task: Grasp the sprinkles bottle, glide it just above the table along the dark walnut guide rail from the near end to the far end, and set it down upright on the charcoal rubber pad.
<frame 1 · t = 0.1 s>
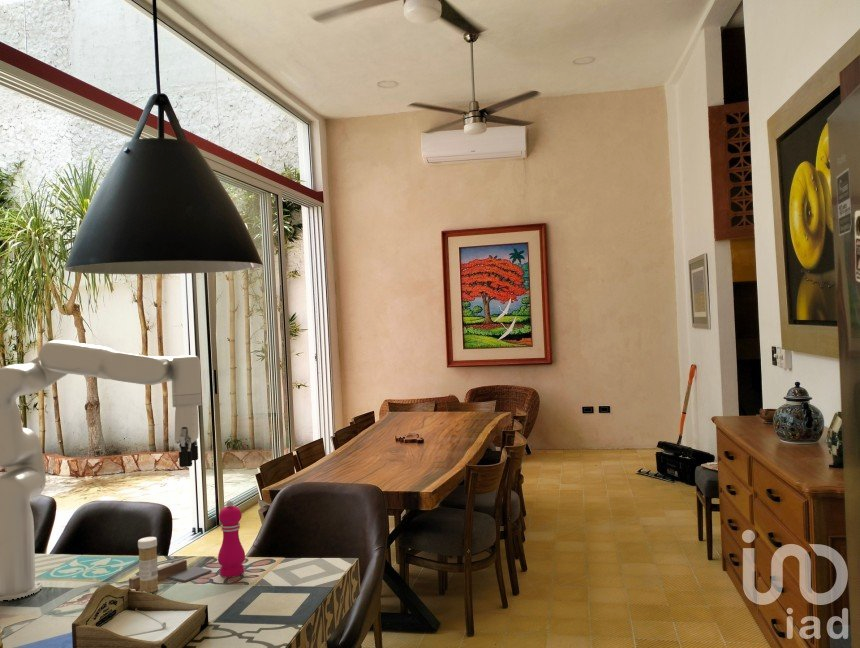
hand: (189, 463, 187), 31 cm above the table, tool pointing down, fingers open, 9 cm apart
sprinkles bottle: (148, 591, 178), on the table
end pad: (189, 574, 189), on the table
pepper mill: (232, 574, 189), on the table
guide rail: (159, 580, 186), on the table
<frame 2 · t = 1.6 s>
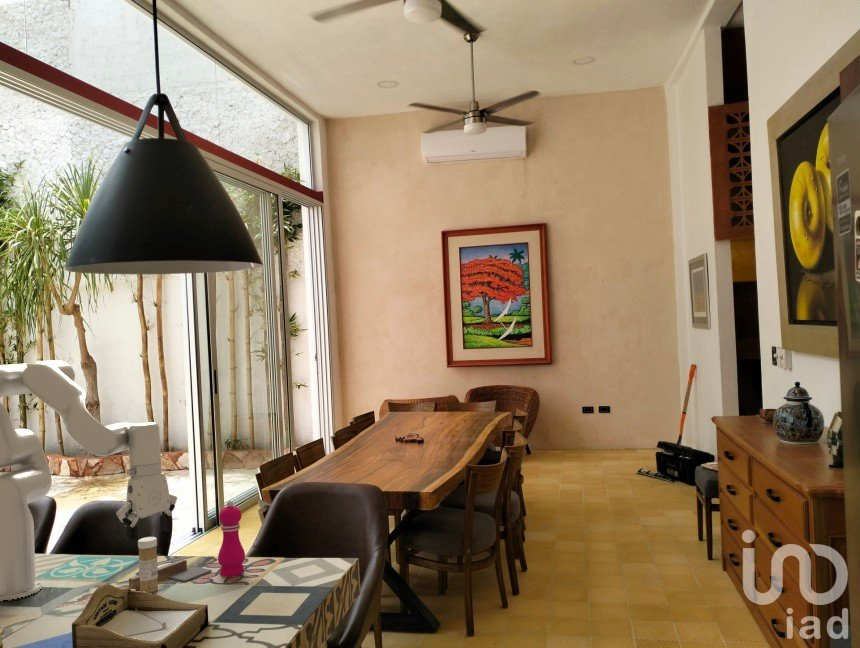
hand: (149, 536, 178), 14 cm above the table, tool pointing down, fingers open, 9 cm apart
nothing on the table moved.
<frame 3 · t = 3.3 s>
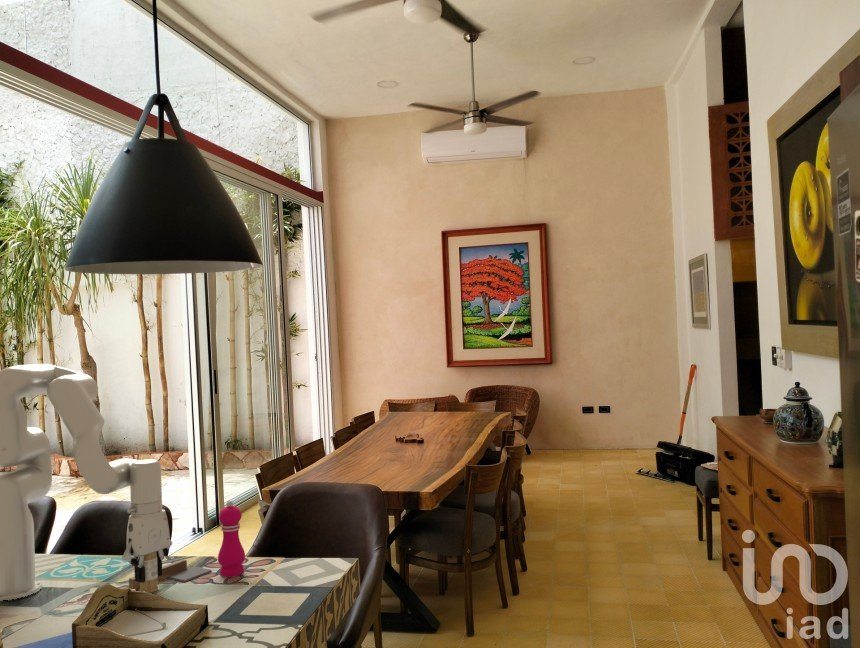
hand: (148, 577, 178), 3 cm above the table, tool pointing down, fingers closed on sprinkles bottle, 4 cm apart
sprinkles bottle: (148, 591, 178), on the table, touching gripper
everything else where it was.
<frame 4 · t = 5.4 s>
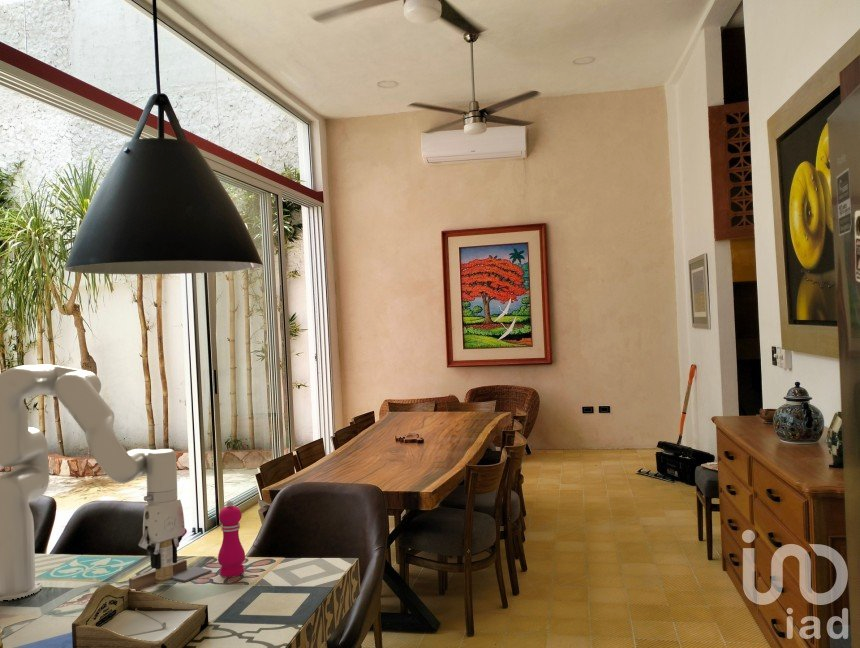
hand: (164, 564, 182), 5 cm above the table, tool pointing down, fingers closed on sprinkles bottle, 4 cm apart
sprinkles bottle: (164, 578, 182), point 2 cm above the table, touching gripper
everything else where it was.
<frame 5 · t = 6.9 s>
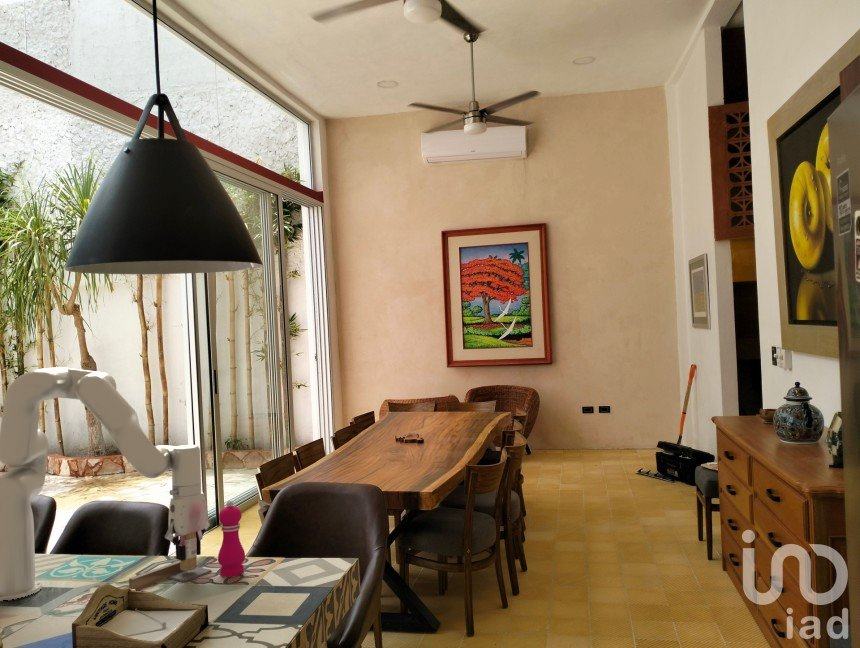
hand: (188, 556, 189), 5 cm above the table, tool pointing down, fingers closed on sprinkles bottle, 4 cm apart
sprinkles bottle: (188, 569, 189), point 2 cm above the table, touching gripper
everything else where it was.
when the fingers open (4 cm above the table, at t = 7.8 s): sprinkles bottle stays where it is, resting on end pad.
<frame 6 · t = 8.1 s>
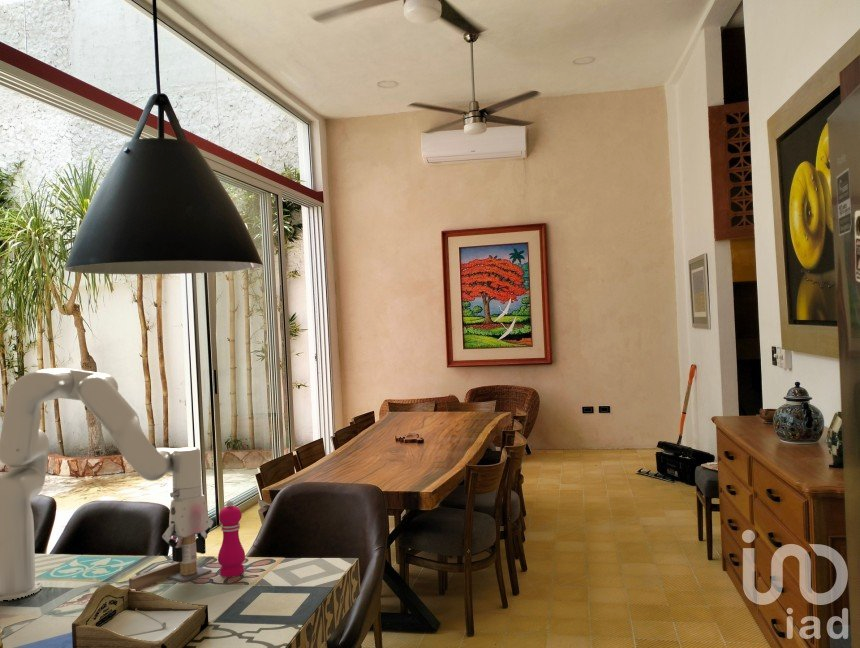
hand: (189, 556, 189), 5 cm above the table, tool pointing down, fingers open, 7 cm apart
sprinkles bottle: (188, 574, 189), resting on end pad
everything else where it was.
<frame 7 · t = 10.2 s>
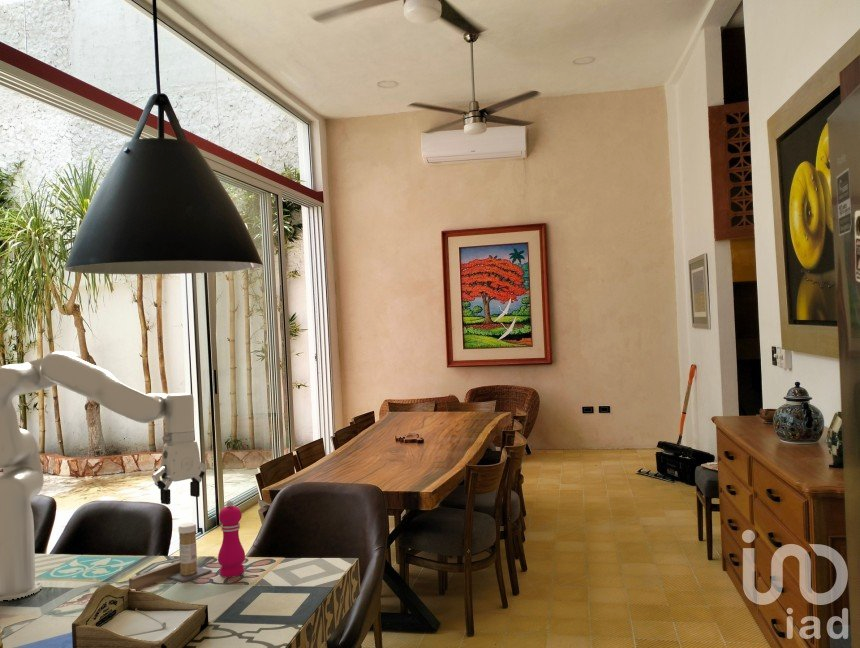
hand: (180, 500, 189), 21 cm above the table, tool pointing down, fingers open, 9 cm apart
nothing on the table moved.
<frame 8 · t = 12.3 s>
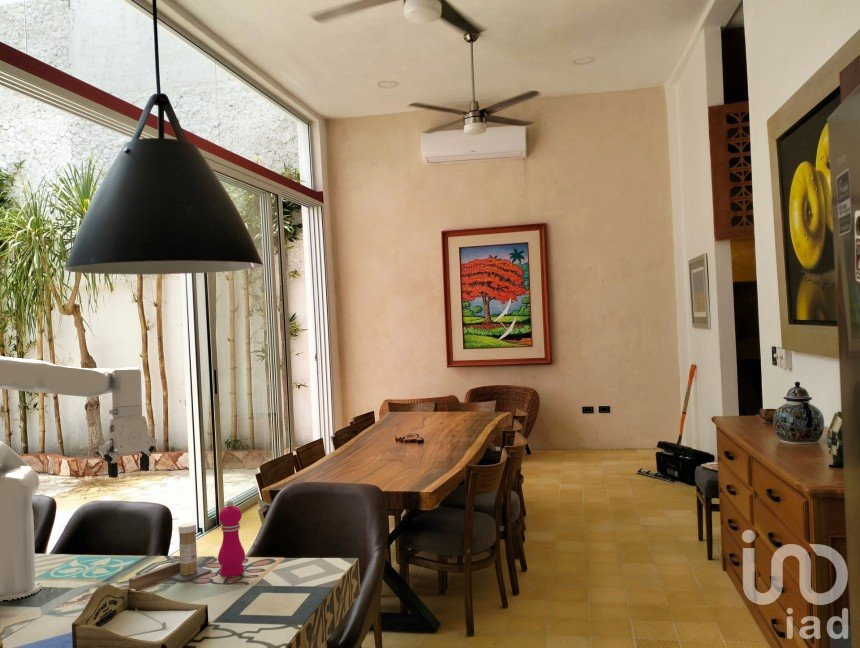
hand: (129, 473, 190), 28 cm above the table, tool pointing down, fingers open, 9 cm apart
nothing on the table moved.
at the end: sprinkles bottle 0.4 cm off-centre on the end pad, point 0.3 cm above the end pad's base; sprinkles bottle tilted 0°; the gripper is holding nothing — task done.
